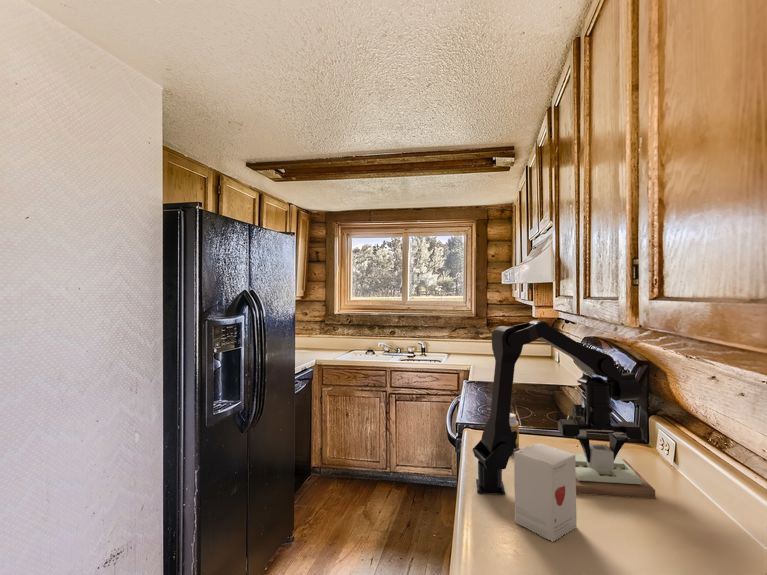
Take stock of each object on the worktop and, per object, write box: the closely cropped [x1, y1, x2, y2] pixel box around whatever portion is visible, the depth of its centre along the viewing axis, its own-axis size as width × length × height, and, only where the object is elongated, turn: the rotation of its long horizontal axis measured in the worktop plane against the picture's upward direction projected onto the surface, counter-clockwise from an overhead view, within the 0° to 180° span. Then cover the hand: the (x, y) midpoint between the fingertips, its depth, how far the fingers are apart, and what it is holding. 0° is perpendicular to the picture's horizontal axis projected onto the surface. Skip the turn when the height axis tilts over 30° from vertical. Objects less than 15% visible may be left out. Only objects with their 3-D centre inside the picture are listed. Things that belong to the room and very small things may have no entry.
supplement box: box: [513, 442, 578, 542], centre depth 85 cm, size 9×9×15 cm
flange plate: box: [574, 443, 642, 484], centre depth 106 cm, size 14×14×6 cm
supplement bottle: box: [509, 412, 520, 451], centre depth 128 cm, size 6×6×10 cm
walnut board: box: [575, 458, 656, 500], centre depth 106 cm, size 18×18×7 cm
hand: (599, 462), depth 106 cm, fingers closed on flange plate, 5 cm apart
